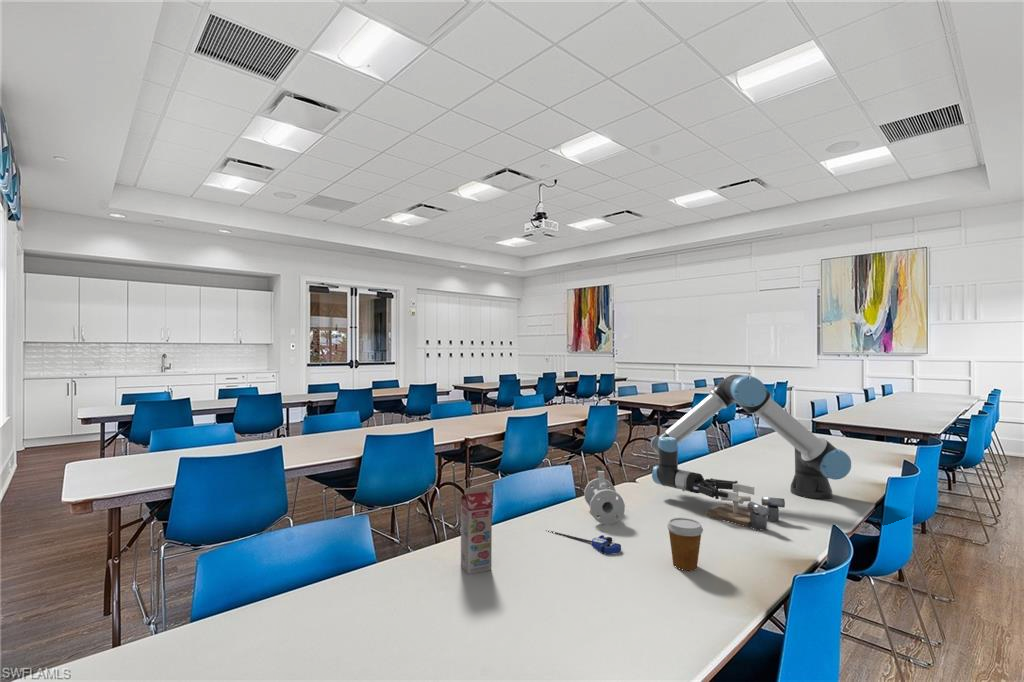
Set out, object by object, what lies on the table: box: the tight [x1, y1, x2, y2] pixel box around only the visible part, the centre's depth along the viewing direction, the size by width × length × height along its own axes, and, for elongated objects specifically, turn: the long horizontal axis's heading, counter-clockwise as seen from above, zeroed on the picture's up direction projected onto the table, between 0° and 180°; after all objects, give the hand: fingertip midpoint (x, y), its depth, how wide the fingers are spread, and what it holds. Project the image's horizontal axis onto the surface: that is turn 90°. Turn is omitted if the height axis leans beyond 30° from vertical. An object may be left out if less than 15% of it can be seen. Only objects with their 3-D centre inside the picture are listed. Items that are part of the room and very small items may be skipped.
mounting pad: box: [705, 503, 753, 527], centre depth 180 cm, size 15×15×2 cm
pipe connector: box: [720, 483, 752, 513], centre depth 180 cm, size 10×10×10 cm
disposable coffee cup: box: [666, 517, 704, 571], centre depth 138 cm, size 10×10×12 cm
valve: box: [584, 465, 626, 526], centre depth 182 cm, size 22×12×15 cm, turn 179°
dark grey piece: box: [747, 501, 769, 531], centre depth 168 cm, size 7×4×8 cm, turn 11°
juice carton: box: [460, 485, 493, 575], centre depth 137 cm, size 7×7×22 cm
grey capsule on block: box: [761, 496, 786, 524], centre depth 176 cm, size 7×4×8 cm, turn 71°
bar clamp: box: [548, 530, 622, 555], centre depth 159 cm, size 32×2×10 cm
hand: (746, 494), depth 177 cm, fingers open, 12 cm apart
